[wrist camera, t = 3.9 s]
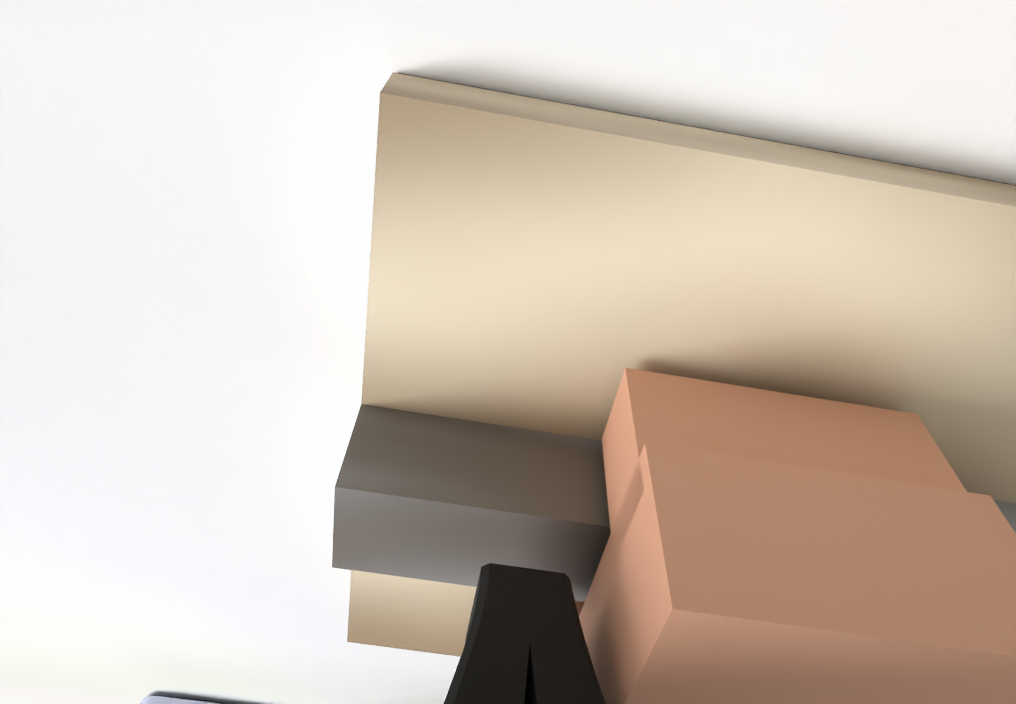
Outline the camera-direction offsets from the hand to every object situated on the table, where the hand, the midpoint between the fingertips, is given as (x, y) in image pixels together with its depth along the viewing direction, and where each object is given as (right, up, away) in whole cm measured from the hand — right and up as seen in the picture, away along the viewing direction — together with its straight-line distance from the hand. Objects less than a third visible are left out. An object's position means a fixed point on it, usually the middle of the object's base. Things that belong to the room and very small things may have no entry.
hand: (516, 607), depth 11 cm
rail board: (+6, +1, +4) cm, 7 cm away
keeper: (+4, +1, +2) cm, 5 cm away
